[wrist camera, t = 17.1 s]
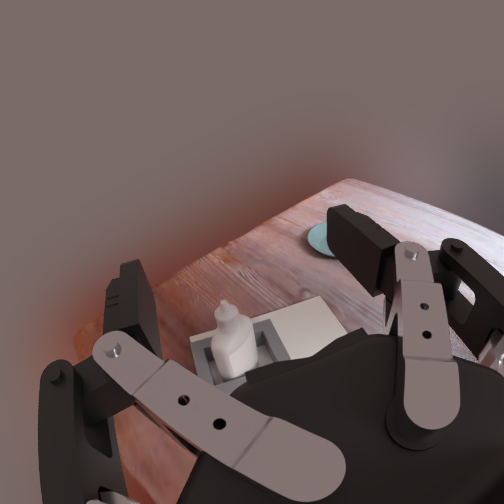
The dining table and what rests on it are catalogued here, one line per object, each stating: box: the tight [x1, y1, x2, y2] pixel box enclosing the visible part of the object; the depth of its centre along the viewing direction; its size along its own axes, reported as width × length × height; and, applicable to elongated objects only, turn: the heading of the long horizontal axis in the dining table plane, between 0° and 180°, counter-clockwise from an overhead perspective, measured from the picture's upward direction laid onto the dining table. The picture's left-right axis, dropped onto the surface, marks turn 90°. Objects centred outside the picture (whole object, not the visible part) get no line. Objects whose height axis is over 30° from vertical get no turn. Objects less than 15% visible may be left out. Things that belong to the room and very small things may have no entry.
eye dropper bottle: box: [211, 300, 258, 383], centre depth 32 cm, size 4×6×12 cm
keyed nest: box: [190, 295, 348, 395], centre depth 36 cm, size 20×16×4 cm
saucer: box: [308, 222, 335, 257], centre depth 55 cm, size 12×12×2 cm
